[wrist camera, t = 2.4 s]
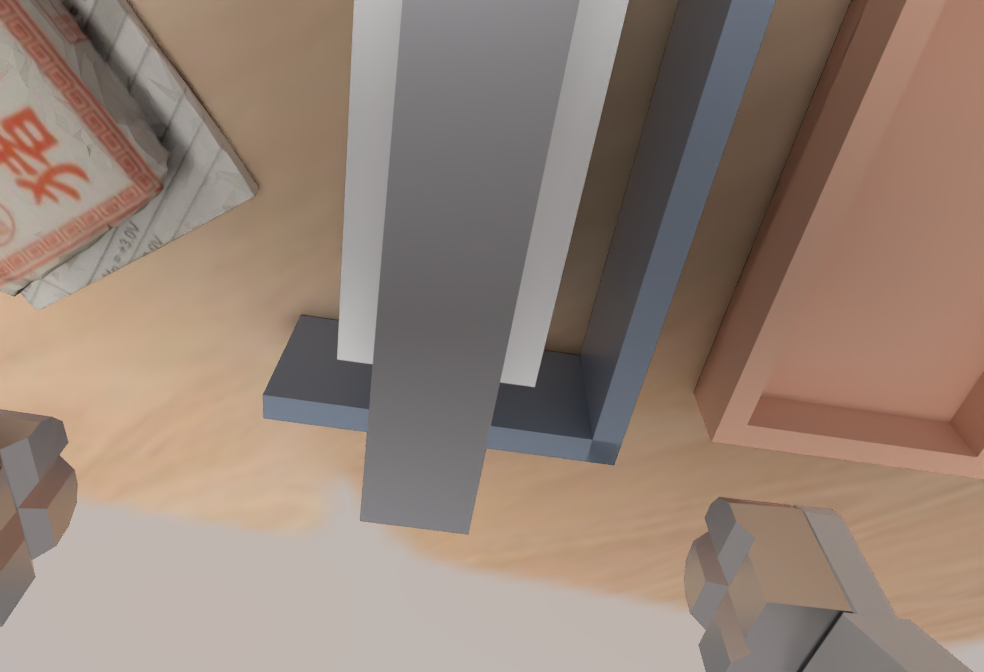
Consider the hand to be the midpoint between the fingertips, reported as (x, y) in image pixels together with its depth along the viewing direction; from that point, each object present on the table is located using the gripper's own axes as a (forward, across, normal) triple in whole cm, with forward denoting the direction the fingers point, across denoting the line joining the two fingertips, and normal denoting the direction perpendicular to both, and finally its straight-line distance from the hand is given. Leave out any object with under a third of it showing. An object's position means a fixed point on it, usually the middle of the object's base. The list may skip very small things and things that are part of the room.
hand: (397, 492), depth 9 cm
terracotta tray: (+16, -16, +1) cm, 23 cm away
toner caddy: (+17, 0, 0) cm, 17 cm away
